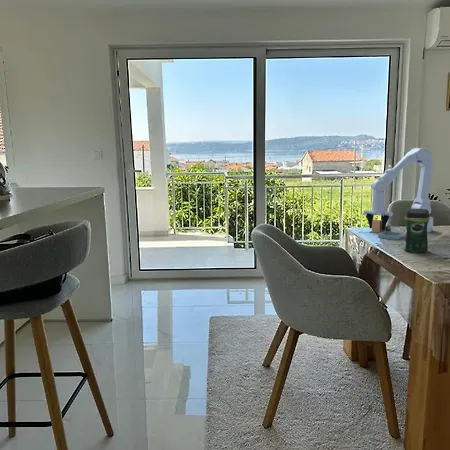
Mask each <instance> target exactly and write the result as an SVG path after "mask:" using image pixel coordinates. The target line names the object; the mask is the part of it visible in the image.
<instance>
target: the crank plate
mask: <svg viewBox="0 0 450 450" xmlns="http://www.w3.org/2000/svg"><path fill="white" fill-rule="evenodd" d="M382 232H384V231H382ZM382 232H380V233H382ZM390 232H399V233H406V230H402V229H401V230H400V229H394V228H393V229H392V228H391V231H390ZM370 233H374V234H380V233H378V232H372V230H371V231H370Z"/></svg>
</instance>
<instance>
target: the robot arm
mask: <svg viewBox="0 0 450 450" xmlns="http://www.w3.org/2000/svg"><path fill="white" fill-rule="evenodd" d="M413 162H416V163H417V164H418V165H419V166H420V167H421V168H420V175H419V180H418V187H417V194H416V197H415V198H414V200H413V203H412V205H411V207H410V209H427V210H428V211H429V215H430V214H431V212H432V208H431V203H432V202H431V201H430V199H429V196H430V189H431V184H432V177H433V172H434V171H433V170H434V165H435V162H434V161H433V157H432V152H431V150H430V149H428V148H426V147H413V148H411V149H410V151H408V152H406V154H405V155H404V156H403V157H402V158H401V159H400V160H399V161H398V162H397V163H396V164H395V166H393V168H388V169H385V170H384V172H383V173H382V174H381V176H378V177H377V179H376V180H374V181H372V184H371V185H370V187H371V190H372V199H371V200H372V204H371V206H372V207H371V210H370V209H369V210H367V209H366V210H363V215H365V218H366V220H367V222H368V227H369V229H372V220H374V216H381V220H382V230H384V229H385V226H386V224H388V221H389V219H390V218H391V217H393V215H394V213H393V212H392V211H391V212H390V211H385V190H387V188H388V186H389V185H390V184H391V183H392V182H393V181H394V180H395V179H396V178H397V177H398V173H399V172H401V171H402V170H403V169H404V168H405V167H407V165H409V164H410V163H413ZM433 228H434V217H433V216H429V221H428V224H427V233H431V232H433Z"/></svg>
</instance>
